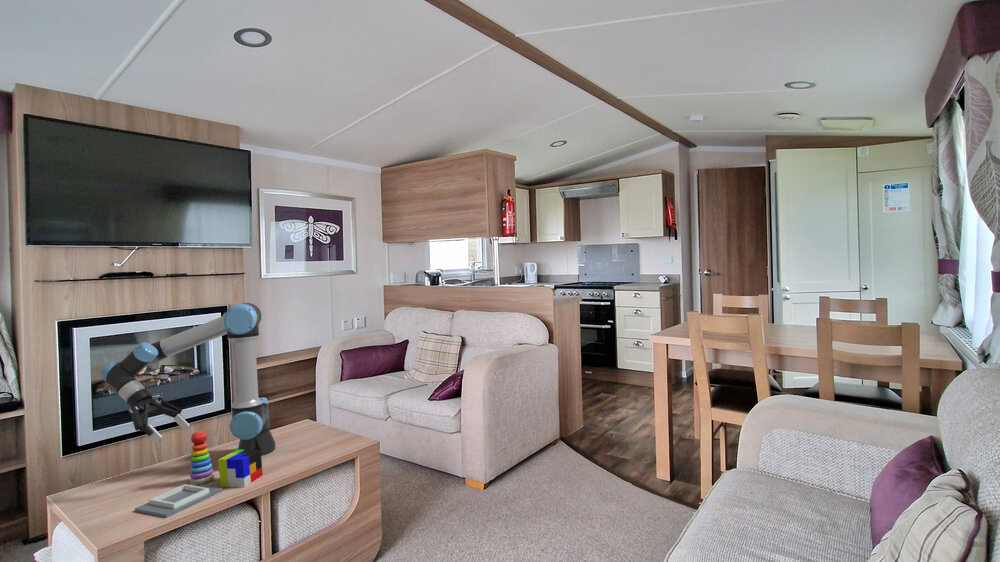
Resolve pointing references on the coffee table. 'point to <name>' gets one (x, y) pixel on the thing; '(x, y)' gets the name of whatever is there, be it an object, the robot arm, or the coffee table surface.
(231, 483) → the puzzle toy
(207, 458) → the stacking toy
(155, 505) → the board
